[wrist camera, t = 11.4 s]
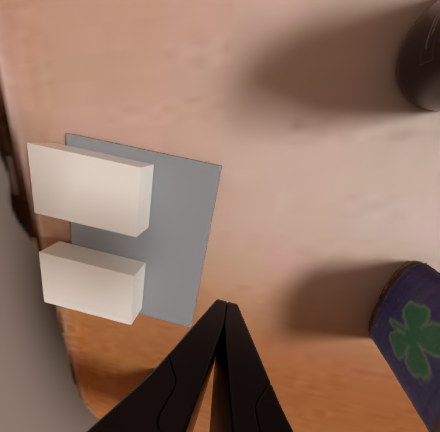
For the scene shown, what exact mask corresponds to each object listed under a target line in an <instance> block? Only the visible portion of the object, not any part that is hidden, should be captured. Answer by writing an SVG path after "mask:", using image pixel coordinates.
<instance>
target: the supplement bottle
mask: <svg viewBox="0 0 440 432" xmlns="http://www.w3.org/2000/svg"><path fill="white" fill-rule="evenodd" d="M397 77H398V82H399V85H400V88H401V90H402V92H403V94H404V95H405V96H406V98H407V99H408V100H409V101H410V102H412V103H413V104H415V105H416V106H418V107H421V108H423V109H427V110H432V111H440V0H437V1H436V2H435V3H434V4H433V5H431V6H430V7H429V8H428V9H427V10H426V11H425V12H424V13H423V14H422V15H421V16H420V17H419V18H418V20H417V21H416V22H415V24H414V25H413V26H412V28H411V29H410V31H409V33H408V34H407V36H406V38H405V40H404V42H403V45H402V47H401V50H400V53H399V57H398V64H397Z"/></svg>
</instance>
